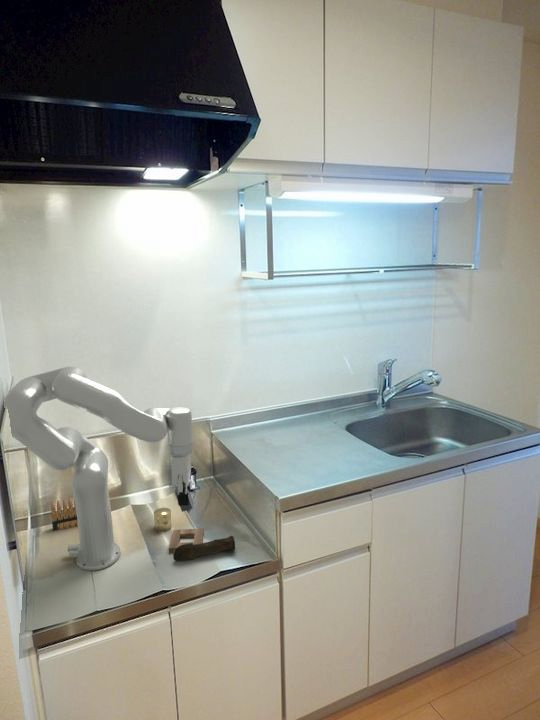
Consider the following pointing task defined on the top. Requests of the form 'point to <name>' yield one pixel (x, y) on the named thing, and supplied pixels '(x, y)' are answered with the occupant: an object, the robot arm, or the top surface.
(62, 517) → the ammunition clip
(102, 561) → the robot arm
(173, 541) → the bore block
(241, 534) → the top surface
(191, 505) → the square bit
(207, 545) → the dark brown log
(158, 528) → the olive gold rounded cube
